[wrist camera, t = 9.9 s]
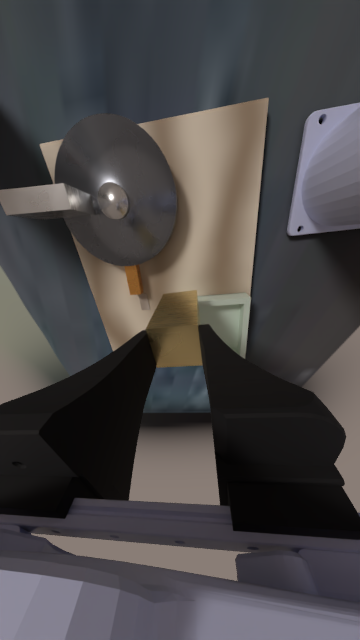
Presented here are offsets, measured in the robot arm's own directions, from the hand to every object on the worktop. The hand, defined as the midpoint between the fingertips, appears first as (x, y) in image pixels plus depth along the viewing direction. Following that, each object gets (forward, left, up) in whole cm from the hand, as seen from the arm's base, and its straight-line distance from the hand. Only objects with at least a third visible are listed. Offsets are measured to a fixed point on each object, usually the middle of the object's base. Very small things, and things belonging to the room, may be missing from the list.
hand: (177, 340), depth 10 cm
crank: (+6, -8, -9) cm, 13 cm away
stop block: (0, 0, -5) cm, 5 cm away
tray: (-3, +4, -9) cm, 10 cm away
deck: (+2, -3, -10) cm, 10 cm away
